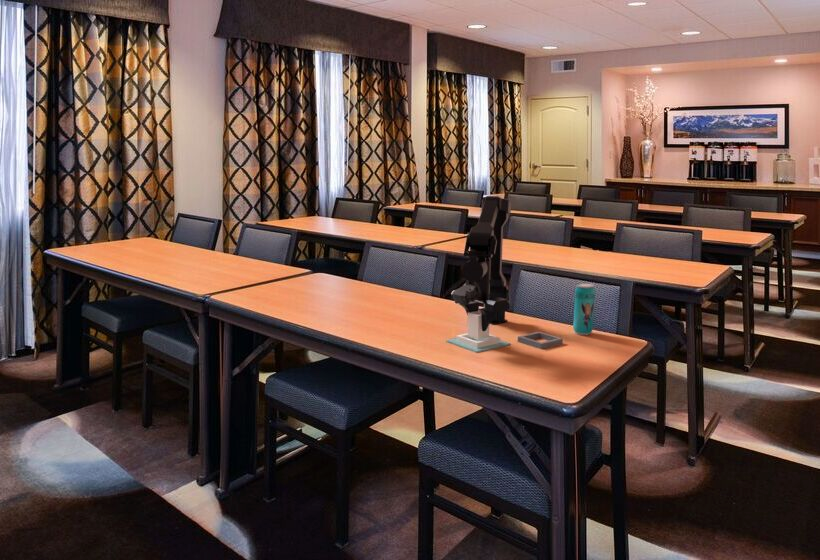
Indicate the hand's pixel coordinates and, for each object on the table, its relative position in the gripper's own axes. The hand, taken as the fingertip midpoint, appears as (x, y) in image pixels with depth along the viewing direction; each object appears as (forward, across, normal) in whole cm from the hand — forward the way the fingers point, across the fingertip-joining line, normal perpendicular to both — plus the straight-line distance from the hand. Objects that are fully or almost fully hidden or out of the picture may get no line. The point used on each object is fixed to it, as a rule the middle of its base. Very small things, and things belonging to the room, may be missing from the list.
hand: (478, 329), depth 178 cm
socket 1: (+4, 0, 0) cm, 4 cm away
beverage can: (+4, +11, +33) cm, 35 cm away
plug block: (+2, 0, 0) cm, 2 cm away
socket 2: (+4, +10, +15) cm, 18 cm away
